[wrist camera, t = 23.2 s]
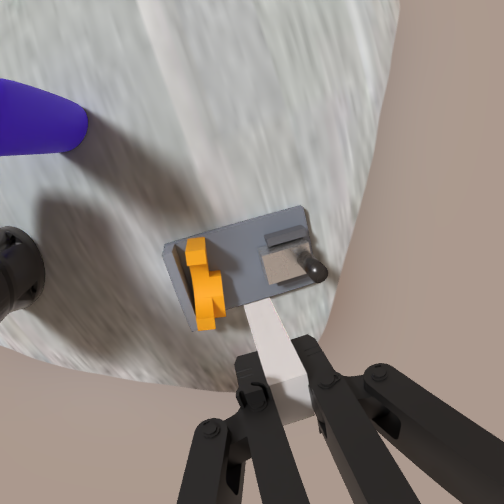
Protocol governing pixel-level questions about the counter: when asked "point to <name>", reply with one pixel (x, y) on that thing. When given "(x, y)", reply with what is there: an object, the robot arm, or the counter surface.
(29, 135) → the bottle
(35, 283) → the robot arm
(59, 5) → the counter surface
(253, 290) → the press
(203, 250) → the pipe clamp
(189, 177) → the counter surface
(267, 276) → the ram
